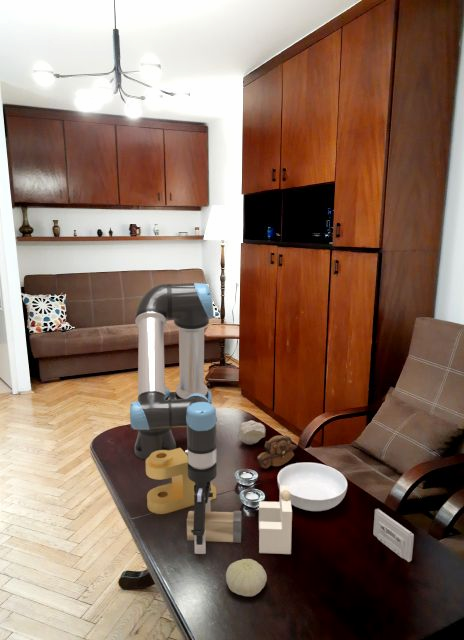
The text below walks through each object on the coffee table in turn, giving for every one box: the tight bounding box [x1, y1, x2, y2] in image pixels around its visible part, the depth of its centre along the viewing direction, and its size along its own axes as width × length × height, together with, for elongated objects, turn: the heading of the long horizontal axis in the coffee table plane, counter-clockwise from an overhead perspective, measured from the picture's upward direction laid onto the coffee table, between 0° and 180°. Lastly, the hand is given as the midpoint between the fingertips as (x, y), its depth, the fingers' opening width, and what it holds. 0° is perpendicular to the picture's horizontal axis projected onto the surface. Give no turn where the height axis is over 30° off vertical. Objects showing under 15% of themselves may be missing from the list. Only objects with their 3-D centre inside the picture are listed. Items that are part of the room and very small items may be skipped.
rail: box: [186, 510, 242, 544], centre depth 119 cm, size 4×14×6 cm, turn 87°
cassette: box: [373, 508, 415, 563], centre depth 115 cm, size 12×2×8 cm, turn 29°
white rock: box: [237, 419, 267, 445], centre depth 169 cm, size 12×8×10 cm
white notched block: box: [258, 486, 293, 555], centre depth 118 cm, size 11×8×14 cm
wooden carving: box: [256, 435, 298, 469], centre depth 155 cm, size 16×5×10 cm, turn 128°
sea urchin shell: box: [225, 558, 268, 597], centre depth 103 cm, size 9×8×8 cm
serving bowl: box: [276, 462, 348, 512], centre depth 136 cm, size 21×21×7 cm
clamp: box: [145, 447, 217, 515], centre depth 135 cm, size 20×9×16 cm, turn 118°
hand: (203, 535), depth 120 cm, fingers open, 12 cm apart
